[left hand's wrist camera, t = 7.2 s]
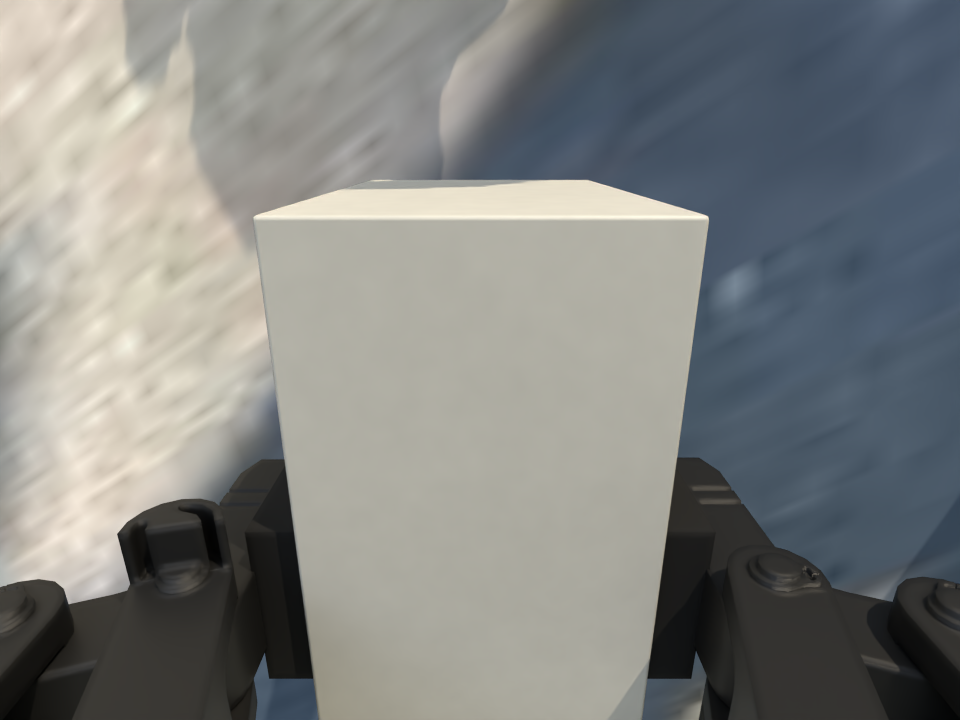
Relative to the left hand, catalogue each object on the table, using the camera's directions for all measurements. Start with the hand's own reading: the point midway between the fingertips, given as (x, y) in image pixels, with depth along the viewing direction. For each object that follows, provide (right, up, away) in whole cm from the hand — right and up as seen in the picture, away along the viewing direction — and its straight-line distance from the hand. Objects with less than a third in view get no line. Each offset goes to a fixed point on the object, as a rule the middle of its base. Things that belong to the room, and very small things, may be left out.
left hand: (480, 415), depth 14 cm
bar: (0, -31, +12) cm, 33 cm away
